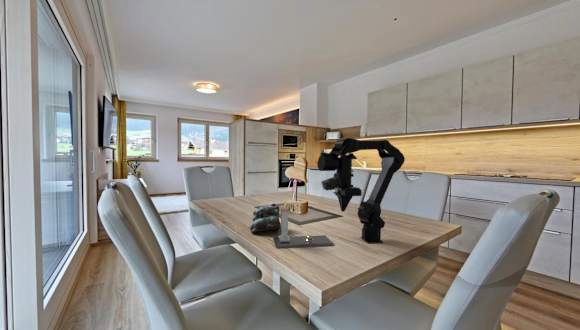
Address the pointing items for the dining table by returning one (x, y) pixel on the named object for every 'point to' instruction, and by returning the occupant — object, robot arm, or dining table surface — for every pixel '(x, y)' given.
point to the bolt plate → (303, 241)
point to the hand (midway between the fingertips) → (342, 211)
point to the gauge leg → (284, 226)
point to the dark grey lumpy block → (266, 219)
